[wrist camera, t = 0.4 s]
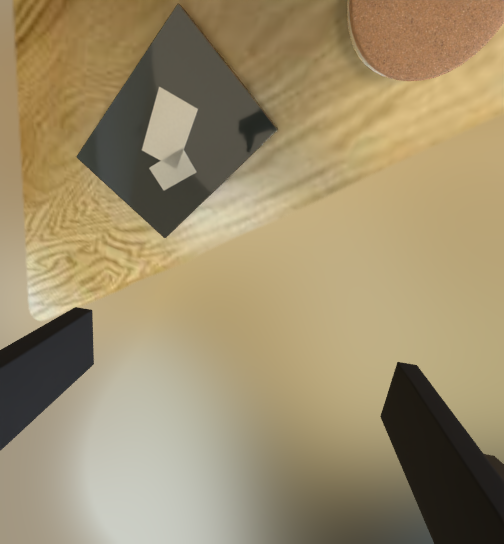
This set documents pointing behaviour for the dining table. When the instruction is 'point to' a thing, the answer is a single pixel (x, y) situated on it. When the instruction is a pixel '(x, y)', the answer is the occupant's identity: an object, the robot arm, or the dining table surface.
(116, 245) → the dining table surface
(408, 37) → the trinket box
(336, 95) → the dining table surface
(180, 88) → the slate board
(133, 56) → the dining table surface
